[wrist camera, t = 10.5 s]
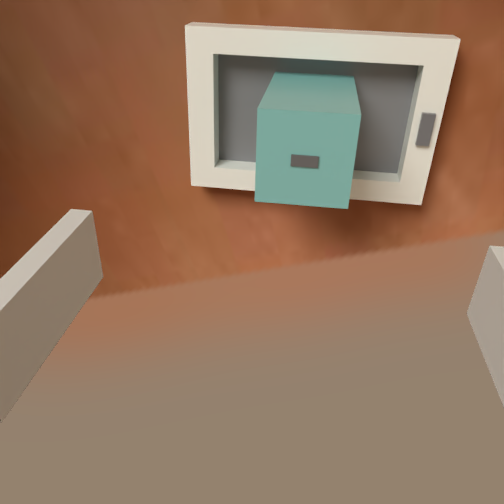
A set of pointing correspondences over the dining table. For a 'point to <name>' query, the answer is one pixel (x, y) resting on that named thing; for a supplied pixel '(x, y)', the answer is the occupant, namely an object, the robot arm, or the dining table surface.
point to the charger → (307, 140)
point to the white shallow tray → (319, 62)
